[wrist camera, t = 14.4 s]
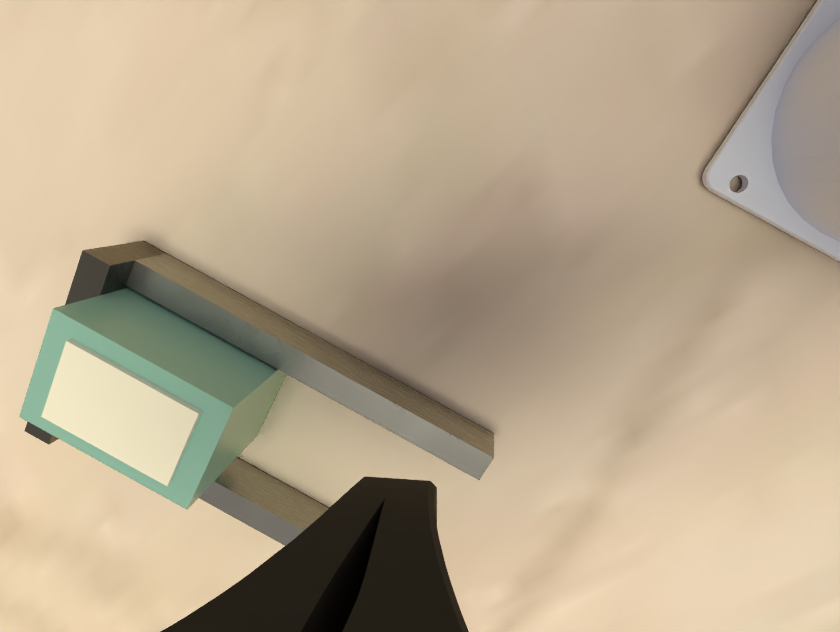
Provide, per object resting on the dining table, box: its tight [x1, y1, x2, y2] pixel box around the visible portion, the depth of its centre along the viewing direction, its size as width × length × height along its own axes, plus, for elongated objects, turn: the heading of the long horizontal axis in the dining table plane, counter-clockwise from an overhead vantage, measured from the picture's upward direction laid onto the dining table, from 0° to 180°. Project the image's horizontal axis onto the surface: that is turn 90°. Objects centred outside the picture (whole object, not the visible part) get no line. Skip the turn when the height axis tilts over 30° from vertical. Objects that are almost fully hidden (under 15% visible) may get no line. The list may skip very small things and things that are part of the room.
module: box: [19, 287, 286, 509], centre depth 18 cm, size 6×4×5 cm, turn 62°
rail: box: [25, 241, 494, 546], centre depth 19 cm, size 15×7×3 cm, turn 62°
